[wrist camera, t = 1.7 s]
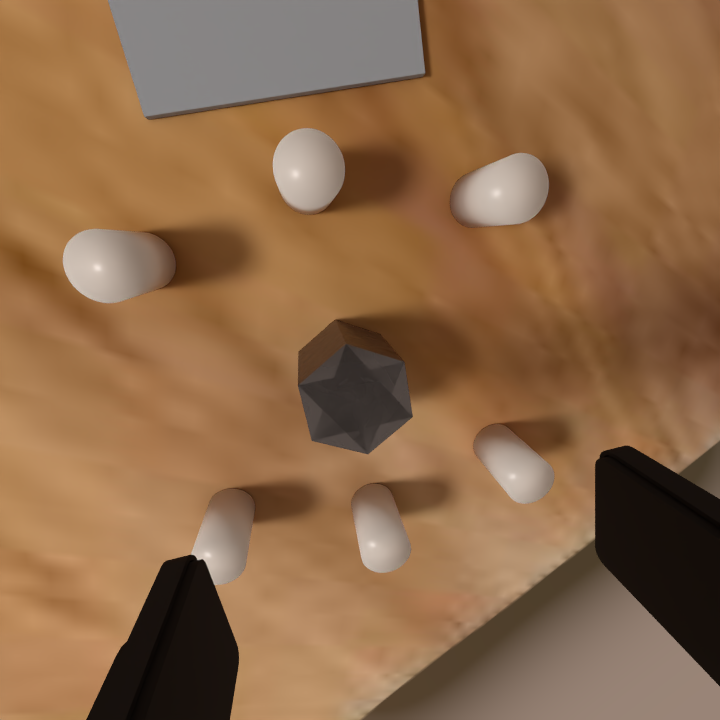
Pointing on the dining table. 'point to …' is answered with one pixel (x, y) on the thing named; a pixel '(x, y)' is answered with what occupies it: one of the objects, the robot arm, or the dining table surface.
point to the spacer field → (310, 196)
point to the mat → (262, 49)
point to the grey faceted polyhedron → (352, 388)
